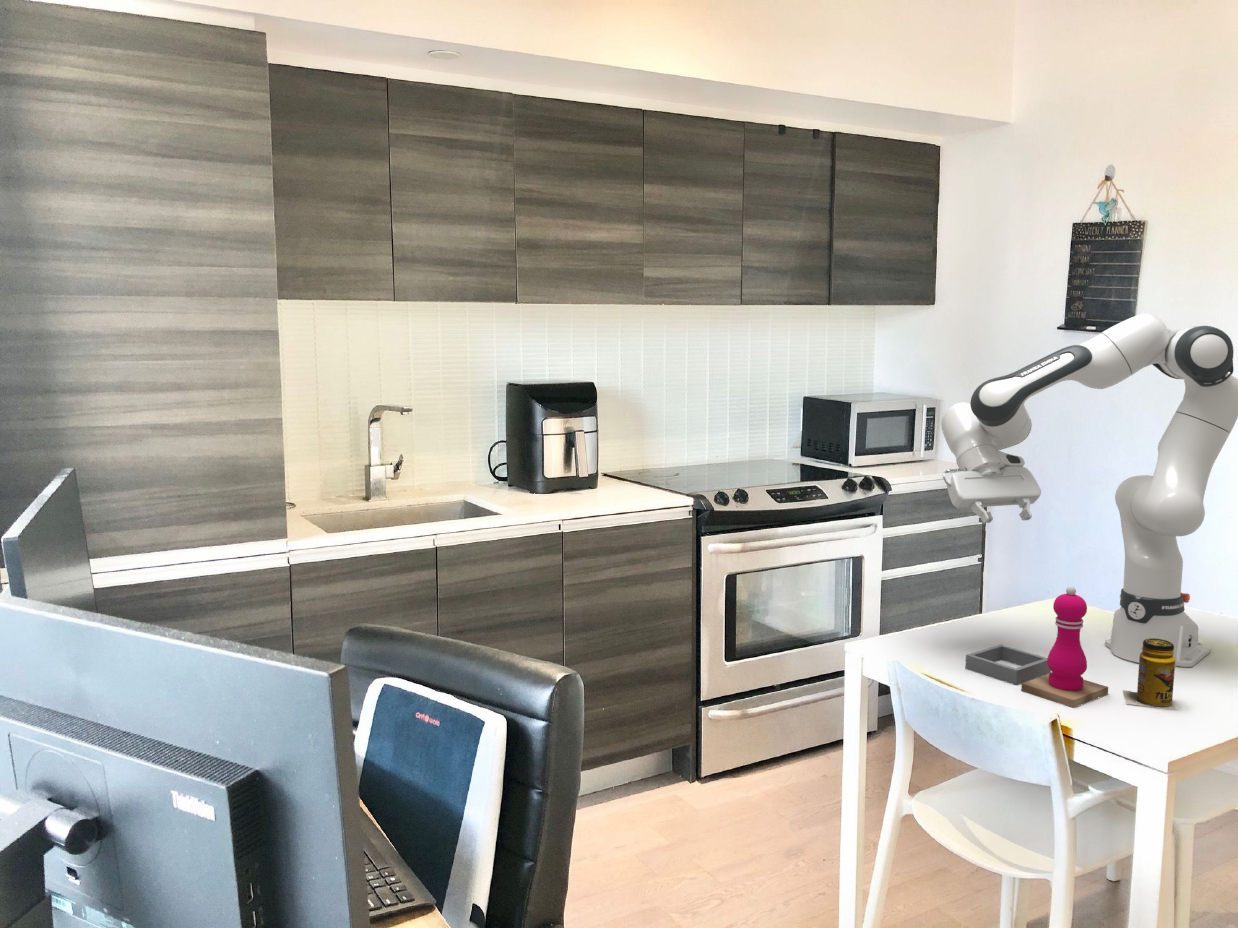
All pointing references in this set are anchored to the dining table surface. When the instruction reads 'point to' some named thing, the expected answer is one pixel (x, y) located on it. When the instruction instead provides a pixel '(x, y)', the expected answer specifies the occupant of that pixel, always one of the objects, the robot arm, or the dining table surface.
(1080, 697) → the walnut board
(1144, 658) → the condiment
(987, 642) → the dining table surface
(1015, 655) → the gray square tray
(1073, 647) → the pepper mill
